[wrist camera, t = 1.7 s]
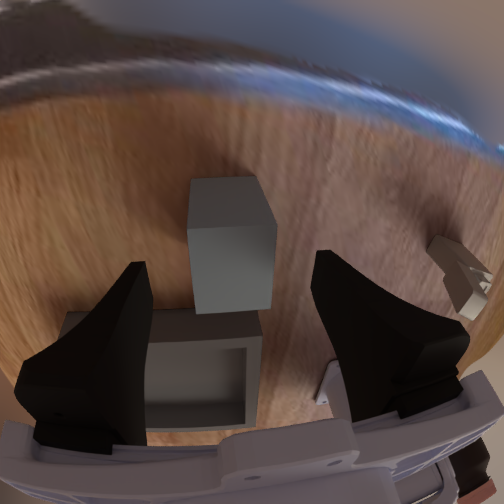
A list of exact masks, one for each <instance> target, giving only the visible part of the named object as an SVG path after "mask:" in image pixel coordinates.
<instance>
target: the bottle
mask: <svg viewBox="0 0 504 504" xmlns="http://www.w3.org/2000/svg"><path fill="white" fill-rule="evenodd" d="M448 458H449V460H450V462H451V465H452V467H453V470H454V473H455V479H456V482H457V484H458V487H459V492H458V497H459V498H458V499H457V502H458V504H480V503H481V502H483V501H485V500H486V499H488V498H489V497H491V496H492V495H493V494H495V493H496V488H495V486H494V483H493V481H492V479H490V480H489V478H490V476H489V477H488V476H487V473H486V468H487V465H488V462H489V459H490V455H489V453H488V451H487V448H486V446H485V444H484V442H483V440H482V438H481V437H479V438H478V439H477V440H476V441H474V442H472V443H471V444H469V445H467V446H465V447H464V448H462V449H460V450H458V451H456V452H455V453H453V454H451V455H449V456H448ZM438 471H439V470H438ZM439 473H440V471H439ZM440 475H441V473H440ZM441 478H442V475H441ZM442 481H443V478H442Z"/></svg>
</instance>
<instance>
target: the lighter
mask: <svg viewBox="0 0 504 504" xmlns="http://www.w3.org/2000/svg"><path fill="white" fill-rule="evenodd" d="M426 252H427V254H428V255H429V256H430V257H431V258H432V259H433V260H434V262H435V263H436V264H437V265H438V266H439V267H440V268H441V269H442V271H443V272H444V273H445V274H446V275H445V276H444V278H443V282H444V285H445V287H446V289H447V291H448V294H449V296H450V298H451V301H452V303H453V306H454V308H455V310H456V313H457V314H459V315H461V316H463V317H465V318H467V319H469V320H471V321H472V320H474V319H475V318H476V317H477V315H478V314H479V313H480V311H481V310H482V309H483V307H484V306H485V305H486V303H487V301H488V297H487V296H486V293H487V291H489V288H490V287H491V285H492V284H491V283H490V280H491V279H492V277H493V275H492V274H491V273H490V271H489V270H488V269H487V268H486V267H485V266H484V265H483V264H482V263H481V262H480V261H479V260H478V259H477V258H476V257H475V256H474V255H473V254H472V253H471V252H470V251H469V250H468V249H467V248H466V247H465V246H464V245H462V244H460V243H458V242H455V241H453V240H450V239H448V238H445V237H443V236H440V235H438V234H437V235H436V236H435V237H434V238H433V240H432V242H431V244H430V245H429V247H428V249H427V250H426Z"/></svg>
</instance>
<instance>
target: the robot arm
mask: <svg viewBox="0 0 504 504" xmlns="http://www.w3.org/2000/svg"><path fill="white" fill-rule="evenodd" d="M310 288H311V291H312V295H313V299H314V302H315V306H316V308H317V311H318V313H319V315H320V318H321V320H322V322H323V324H324V327H325V329H326V331H327V334H328V336H329V338H330V340H331V343H332V345H333V347H334V350H335V353H336V356H337V359H338V360H335V361H332V362H330V363H329V364H328V367H327V370H326V372H325V375H324V378H323V381H322V384H321V386H320V389H319V392H318V395H317V397H316V400H315V403H316V405H322V404H327V403H329V405H330V408H331V411H332V414H333V417H334V418H330V419H323V420H318V421H313V422H307V423H302V424H296V425H290V426H284V427H277V428H270V429H262V430H254V431H248V432H243V433H238V434H233V435H231V436H229V437H227V438H225V439H223V440H222V441H221V442H220V443H219V445H203V446H147V437H146V424H145V398H144V381H145V363H146V356H147V349H148V343H149V337H150V330H151V324H152V314H153V296H152V291H151V287H150V282H149V278H148V273H147V268H146V263H145V261H139V262H131V263H130V264H129V265H128V266H127V268H126V269H125V270H124V272H123V273H122V274H121V276H120V277H119V278H118V280H117V281H116V282H115V283H114V285H113V286H112V287H111V288H110V290H109V291H108V292H107V294H106V295H105V296H104V297H103V298H102V299H101V301H100V302H99V303H98V304H97V305H96V306H95V308H94V309H93V310H92V311H91V312H90V313H89V314H88V315H87V316H86V317H85V318H84V319H83V320H82V321H81V322H79V323H78V324H77V325H76V326H75V327H74V328H72V329H71V330H70V331H69V332H68V333H66V334H65V335H64V336H63V337H61V338H60V339H59V340H57V341H56V342H55V343H53V344H52V345H50V346H49V347H47V348H46V349H44V350H42V351H41V352H39V353H37V354H36V355H34V356H32V357H30V358H29V359H27V360H25V361H24V362H23V364H22V367H21V370H20V373H19V376H18V379H17V382H16V385H15V389H14V394H15V396H16V399H17V400H18V401H19V403H20V404H21V405H22V406H23V407H24V408H25V409H26V410H27V412H28V413H30V415H31V416H33V418H34V419H35V420H36V425H35V428H34V427H32V426H30V425H27V424H24V423H20V422H15V421H10V420H5V423H4V427H3V431H2V435H1V439H0V480H2V481H4V482H5V483H7V484H9V485H10V486H12V487H14V488H16V489H18V490H19V491H21V492H23V493H25V494H27V495H29V496H31V497H35V498H39V499H42V500H46V501H49V502H53V503H56V504H412V503H414V502H416V501H418V500H420V499H422V498H424V497H426V496H428V495H430V494H432V493H434V492H436V491H438V490H439V491H438V492H437V493H435V494H434V495H433V496H431V497H429V498H427V499H425V500H423V501H421V502H419V503H417V504H455V502H456V500H457V499H458V492H459V487H458V484H457V482H456V479H455V473H454V470H453V467H452V465H451V462H450V460H449V458H448V456H449V455H451V454H453V453H455V452H456V451H458V450H460V449H462V448H464V447H465V446H467V445H469V444H471V443H472V442H474V441H476V440H477V439H478V438H479V437H481V436H482V435H483V434H484V433H485V432H486V431H488V430H489V429H490V428H491V427H492V426H493V425H494V424H495V423H497V421H499V420H500V419H501V418H502V417H503V416H504V406H503V405H502V403H501V401H500V400H499V398H498V396H497V394H496V392H495V391H494V389H493V387H492V386H491V384H490V382H489V381H488V379H487V377H486V376H485V374H484V373H483V371H482V370H479V371H477V372H475V373H473V374H470V375H468V376H466V377H464V378H463V379H461V380H460V381H459V380H458V379H457V377H456V375H458V373H459V371H458V369H457V368H456V364H457V363H458V362H459V360H460V359H461V357H462V356H463V354H464V353H465V351H466V350H467V348H468V346H469V343H470V336H469V334H468V333H467V331H466V330H465V328H464V327H463V326H462V324H461V323H460V322H459V321H456V320H453V319H449V318H446V317H442V316H439V315H436V314H434V313H431V312H428V311H426V310H423V309H421V308H418V307H416V306H414V305H412V304H410V303H408V302H406V301H404V300H402V299H400V298H398V297H396V296H395V295H393V294H391V293H389V292H388V291H386V290H384V289H383V288H381V287H380V286H378V285H377V284H375V283H374V282H372V281H371V280H369V279H368V278H367V277H365V276H364V275H363V274H361V273H360V272H359V271H357V270H356V269H355V268H353V267H352V266H351V265H350V264H348V263H347V262H346V261H344V260H343V259H342V258H341V257H339V256H338V255H337V254H335V253H334V252H332V251H331V250H318V251H317V252H316V258H315V264H314V270H313V276H312V281H311V287H310ZM438 470H439V471H440V473H441V475H442V478H443V481H442V478H441V475H440V473H439V471H438Z"/></svg>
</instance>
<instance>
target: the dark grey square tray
mask: <svg viewBox="0 0 504 504" xmlns="http://www.w3.org/2000/svg"><path fill="white" fill-rule="evenodd" d="M89 313H90V312H67V315H66V317H65V320H64V323H63V326H62V328H61V331H60V334H59V337H58V340H59V339H60V338H61V337H63V336H64V335H65V334H66V333H68V332H69V331H70V330H71V329H72V328H74V327H75V326H76V325H77V324H78V323H79V322H81V321H82V320H83V319H84V318H85V317H86V316H87V315H88V314H89ZM262 340H263V334H262V330H261V326H260V321H259V317H258V312H257V310H249V311H236V312H222V313H207V314H196V309H195V308H188V309H168V310H153V314H152V324H151V330H150V337H149V343H148V349H147V356H146V363H145V381H144V398H145V424H146V432H198V431H216V430H230V429H241V428H250V427H256V416H257V404H258V392H259V379H260V367H261V354H262Z"/></svg>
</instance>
